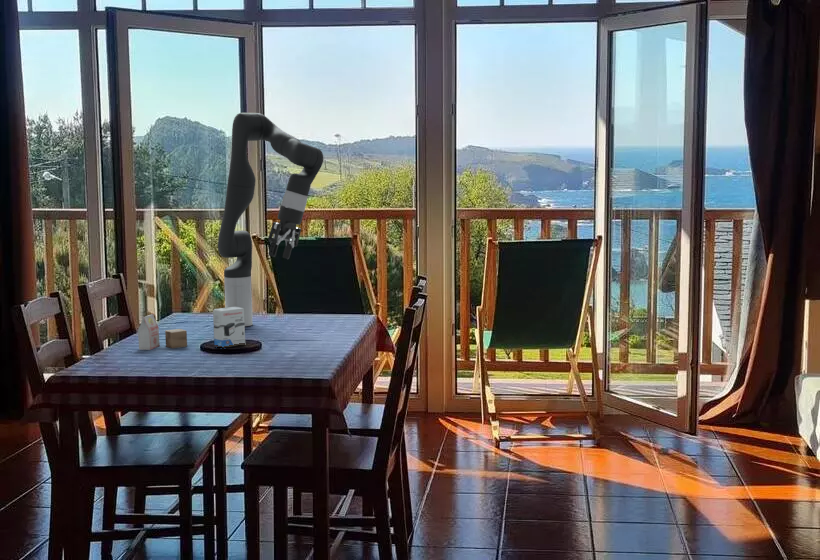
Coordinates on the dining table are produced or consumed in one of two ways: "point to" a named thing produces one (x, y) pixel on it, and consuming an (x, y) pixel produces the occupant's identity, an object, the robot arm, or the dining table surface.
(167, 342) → the walnut cube
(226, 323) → the ink box
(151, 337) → the white carton
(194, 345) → the dining table surface
